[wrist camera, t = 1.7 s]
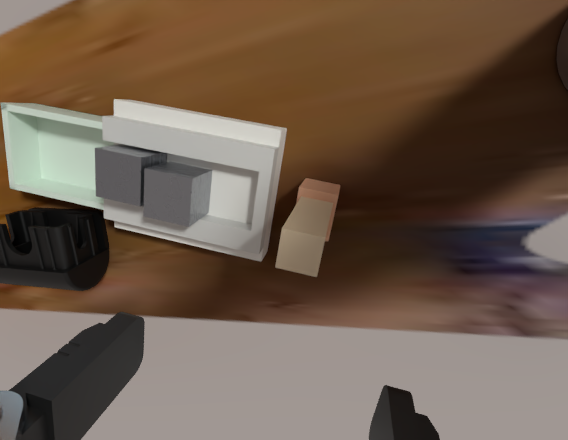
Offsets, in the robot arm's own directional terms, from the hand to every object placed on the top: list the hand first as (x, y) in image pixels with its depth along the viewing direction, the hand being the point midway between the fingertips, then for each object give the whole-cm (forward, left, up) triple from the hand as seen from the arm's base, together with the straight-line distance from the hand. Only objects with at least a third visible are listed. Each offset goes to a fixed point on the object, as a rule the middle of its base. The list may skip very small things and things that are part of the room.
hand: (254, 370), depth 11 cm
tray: (+24, 0, -22) cm, 33 cm away
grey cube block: (+12, +1, -19) cm, 23 cm away
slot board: (+12, 0, -22) cm, 25 cm away
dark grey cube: (+16, 0, -19) cm, 25 cm away
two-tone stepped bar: (0, 0, -22) cm, 22 cm away
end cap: (+26, +10, -22) cm, 36 cm away
